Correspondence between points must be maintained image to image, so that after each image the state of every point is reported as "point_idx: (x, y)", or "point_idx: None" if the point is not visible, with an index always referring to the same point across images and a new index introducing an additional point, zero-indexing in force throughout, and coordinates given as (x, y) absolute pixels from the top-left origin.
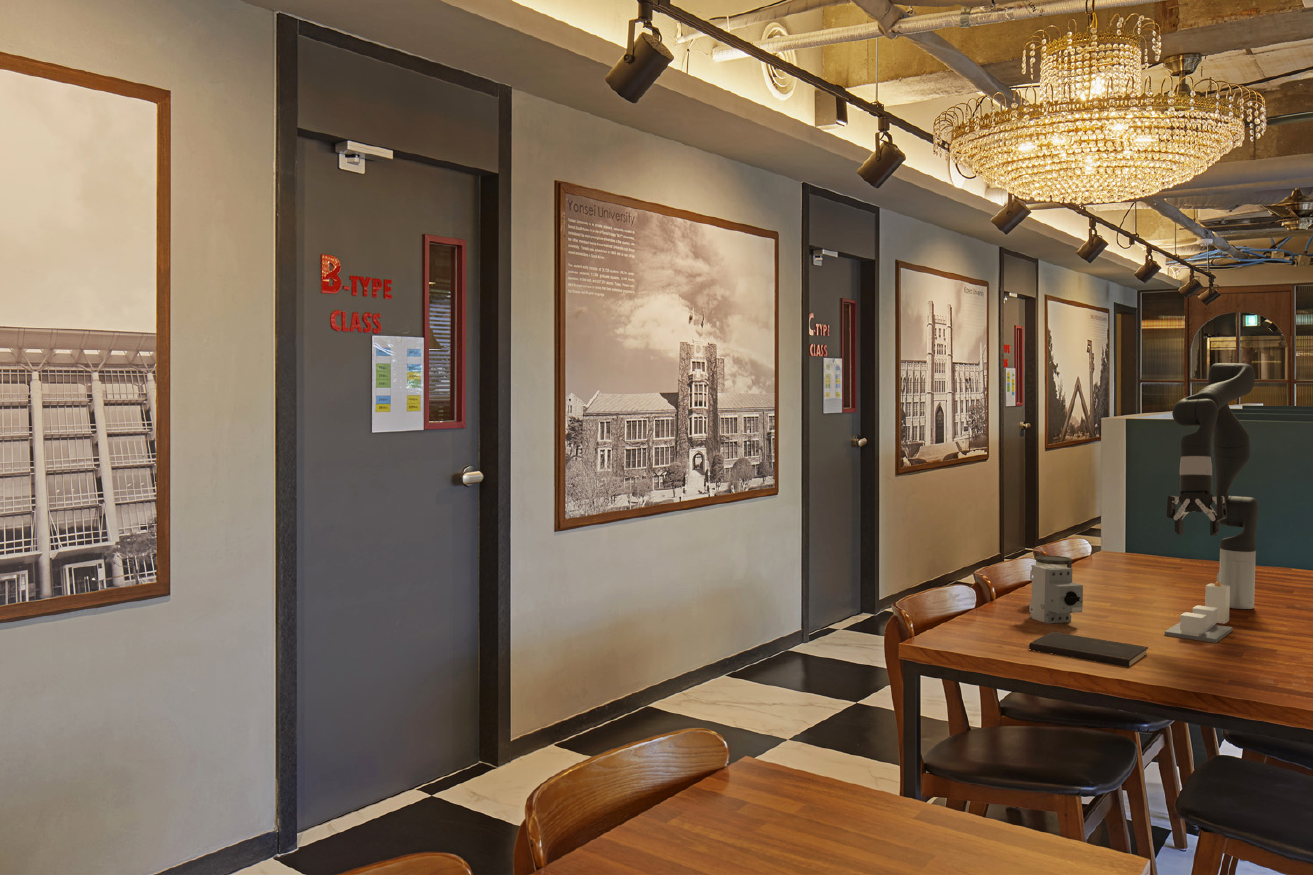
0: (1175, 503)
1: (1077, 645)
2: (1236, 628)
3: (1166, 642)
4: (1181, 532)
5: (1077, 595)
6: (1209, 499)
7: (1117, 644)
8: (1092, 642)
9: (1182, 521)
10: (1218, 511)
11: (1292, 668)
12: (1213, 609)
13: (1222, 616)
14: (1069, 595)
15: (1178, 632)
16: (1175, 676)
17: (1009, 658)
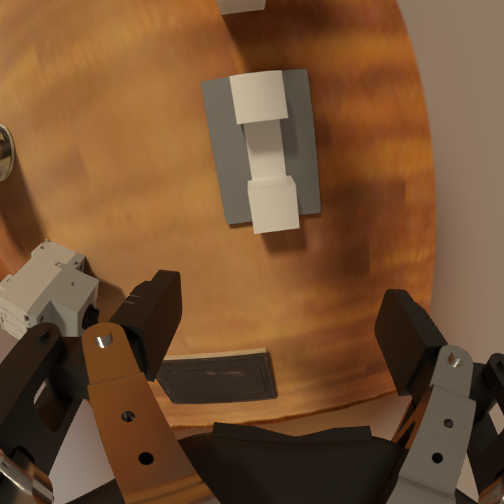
0: (48, 480)
1: (208, 390)
2: (301, 37)
3: (255, 271)
4: (177, 298)
5: (85, 308)
6: None
7: (234, 365)
8: (209, 374)
9: (146, 336)
10: (470, 445)
11: (424, 278)
12: (282, 100)
13: (259, 5)
14: (87, 324)
15: (248, 212)
16: (322, 388)
17: (188, 421)
